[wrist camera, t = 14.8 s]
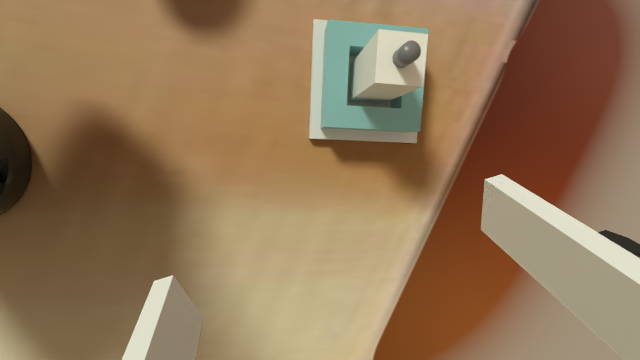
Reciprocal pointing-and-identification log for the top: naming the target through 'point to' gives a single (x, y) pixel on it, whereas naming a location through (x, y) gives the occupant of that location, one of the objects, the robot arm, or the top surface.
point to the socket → (333, 89)
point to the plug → (388, 66)
